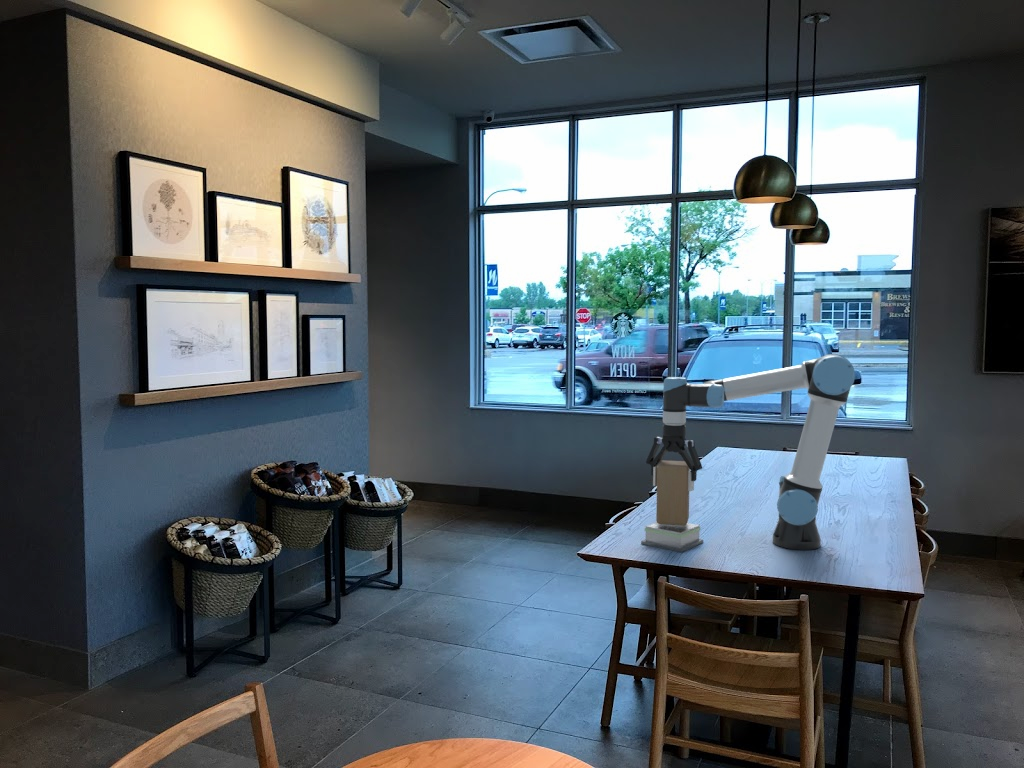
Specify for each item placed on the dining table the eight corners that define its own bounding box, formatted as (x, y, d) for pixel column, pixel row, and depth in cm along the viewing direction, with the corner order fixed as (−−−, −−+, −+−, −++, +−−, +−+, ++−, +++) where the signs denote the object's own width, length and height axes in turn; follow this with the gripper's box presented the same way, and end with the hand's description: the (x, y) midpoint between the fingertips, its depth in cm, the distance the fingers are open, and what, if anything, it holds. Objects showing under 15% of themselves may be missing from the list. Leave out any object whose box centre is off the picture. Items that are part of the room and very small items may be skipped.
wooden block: (688, 519, 271) (689, 461, 269) (686, 526, 261) (688, 466, 260) (659, 517, 274) (659, 459, 272) (656, 524, 264) (656, 464, 263)
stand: (703, 542, 269) (703, 525, 268) (681, 552, 258) (682, 534, 257) (663, 535, 279) (664, 518, 278) (641, 544, 267) (641, 526, 267)
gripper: (713, 425, 260) (712, 491, 262) (647, 419, 276) (647, 481, 277) (702, 428, 254) (701, 494, 256) (636, 422, 270) (635, 484, 272)
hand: (673, 488), depth 267 cm, fingers closed on wooden block, 12 cm apart
